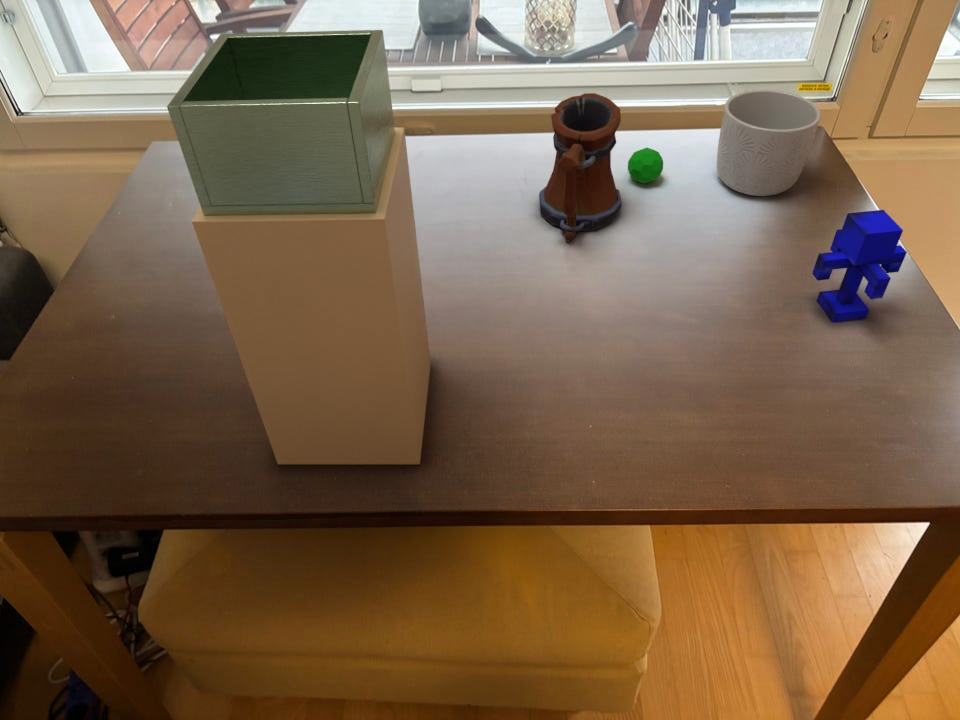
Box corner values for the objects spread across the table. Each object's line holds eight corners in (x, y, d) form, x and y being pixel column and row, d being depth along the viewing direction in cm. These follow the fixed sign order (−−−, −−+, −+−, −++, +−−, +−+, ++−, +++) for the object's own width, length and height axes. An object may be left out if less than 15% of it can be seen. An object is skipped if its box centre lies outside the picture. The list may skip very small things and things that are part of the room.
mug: (605, 267, 94) (616, 159, 84) (517, 254, 97) (517, 148, 86) (626, 193, 107) (638, 91, 96) (547, 183, 109) (551, 83, 99)
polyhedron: (666, 186, 107) (670, 156, 104) (634, 191, 107) (637, 161, 103) (652, 169, 111) (656, 140, 108) (621, 174, 110) (624, 144, 107)
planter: (789, 160, 112) (809, 89, 104) (808, 205, 103) (831, 131, 95) (705, 159, 113) (718, 89, 105) (716, 203, 104) (732, 130, 96)
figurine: (884, 304, 87) (923, 216, 79) (863, 340, 83) (901, 251, 75) (819, 281, 91) (850, 195, 82) (796, 314, 86) (826, 226, 78)
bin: (277, 464, 73) (152, 111, 48) (305, 365, 83) (214, 30, 58) (419, 464, 72) (368, 107, 47) (430, 364, 82) (393, 25, 57)
